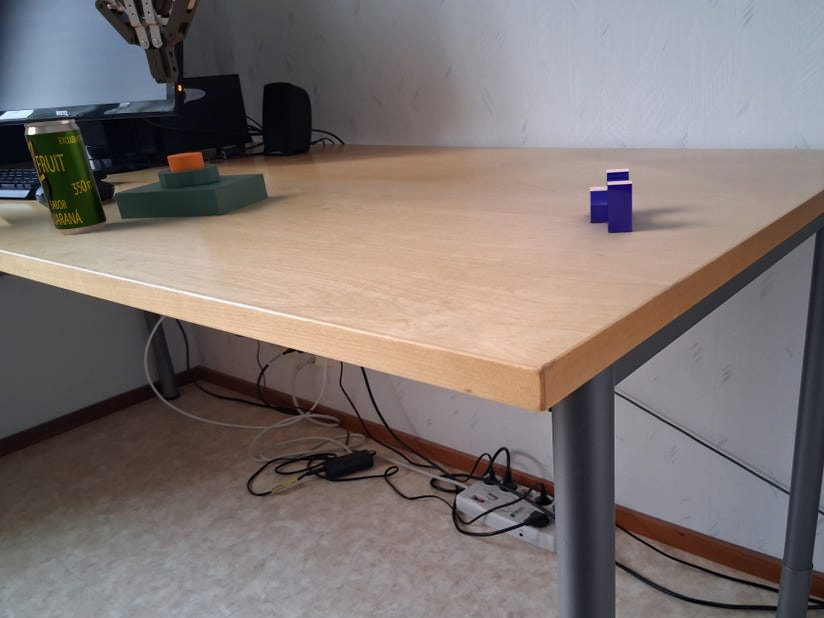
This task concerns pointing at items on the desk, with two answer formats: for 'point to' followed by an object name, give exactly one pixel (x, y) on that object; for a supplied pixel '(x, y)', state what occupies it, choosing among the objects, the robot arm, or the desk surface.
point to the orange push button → (186, 161)
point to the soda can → (66, 176)
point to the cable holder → (613, 201)
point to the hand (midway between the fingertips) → (167, 82)
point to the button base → (191, 194)
